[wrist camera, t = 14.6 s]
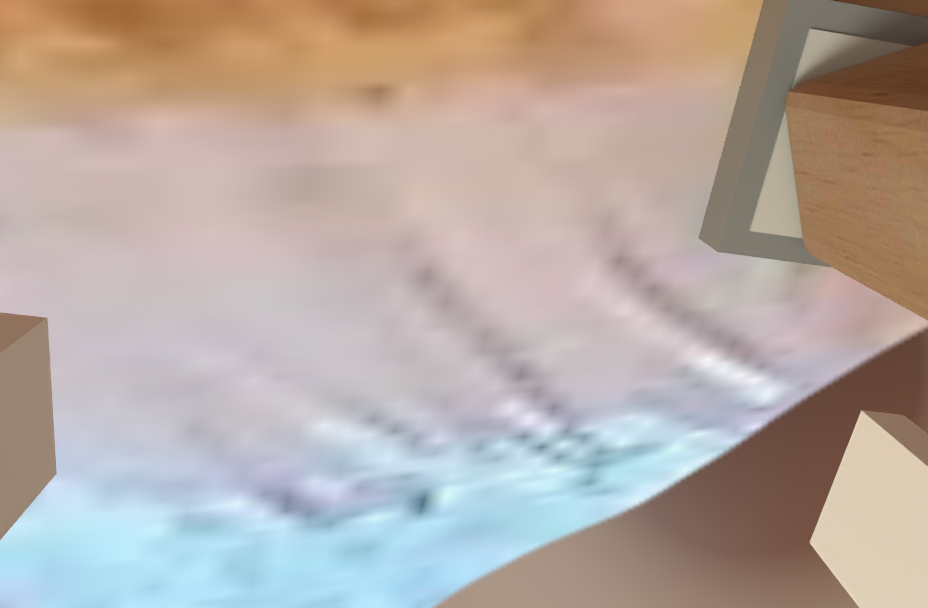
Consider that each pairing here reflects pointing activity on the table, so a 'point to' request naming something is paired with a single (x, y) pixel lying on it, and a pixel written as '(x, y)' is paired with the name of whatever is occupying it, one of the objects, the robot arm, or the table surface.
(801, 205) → the wooden block
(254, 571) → the table surface
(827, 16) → the slate base
